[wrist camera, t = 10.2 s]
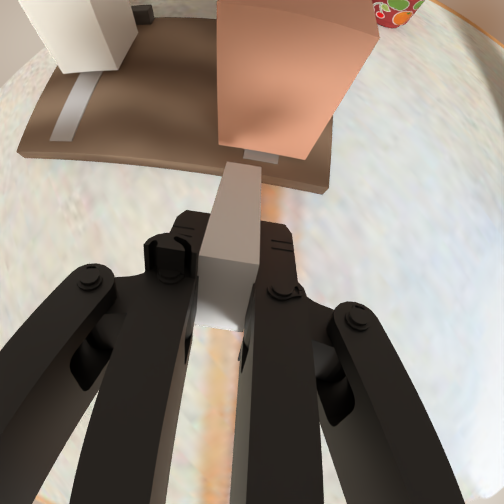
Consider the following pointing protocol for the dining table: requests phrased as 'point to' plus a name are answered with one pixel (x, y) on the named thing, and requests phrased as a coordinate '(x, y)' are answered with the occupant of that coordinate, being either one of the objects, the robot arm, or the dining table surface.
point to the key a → (83, 32)
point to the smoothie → (394, 11)
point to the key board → (157, 111)
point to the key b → (287, 69)
